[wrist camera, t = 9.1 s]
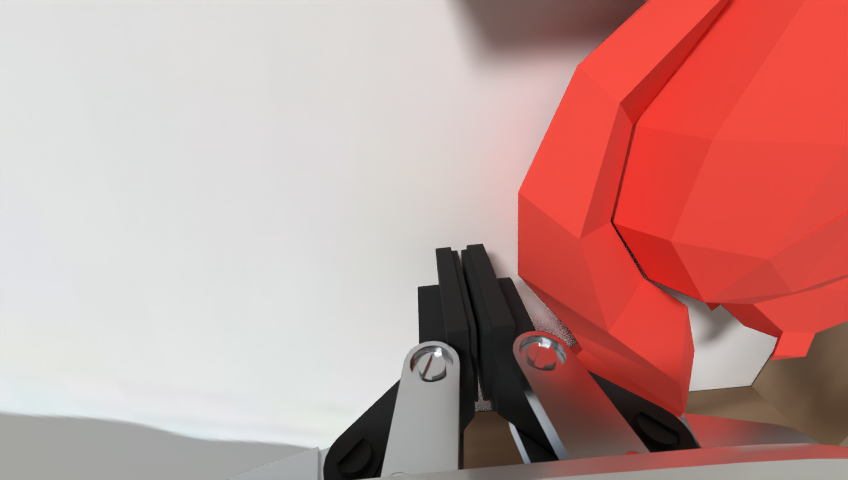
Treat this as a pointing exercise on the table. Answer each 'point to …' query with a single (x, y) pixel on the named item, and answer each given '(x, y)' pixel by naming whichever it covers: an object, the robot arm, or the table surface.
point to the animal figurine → (695, 186)
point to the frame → (729, 402)
